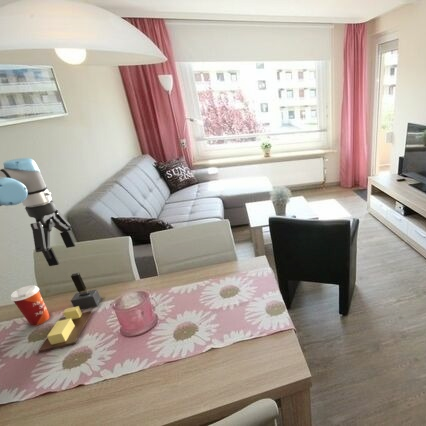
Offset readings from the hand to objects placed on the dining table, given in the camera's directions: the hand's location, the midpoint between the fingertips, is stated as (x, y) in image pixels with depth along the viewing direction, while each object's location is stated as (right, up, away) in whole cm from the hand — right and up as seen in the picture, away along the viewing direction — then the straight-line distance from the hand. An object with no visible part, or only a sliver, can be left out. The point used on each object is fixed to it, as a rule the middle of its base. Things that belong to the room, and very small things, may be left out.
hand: (63, 255), depth 110 cm
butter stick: (0, -30, 0) cm, 30 cm away
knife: (-4, -23, +17) cm, 29 cm away
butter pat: (-3, -26, +9) cm, 28 cm away
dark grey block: (-4, -24, +17) cm, 30 cm away
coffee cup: (-18, -28, +10) cm, 35 cm away
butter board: (-1, -30, +3) cm, 30 cm away
